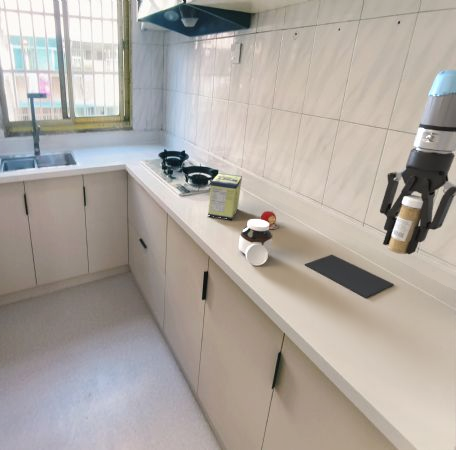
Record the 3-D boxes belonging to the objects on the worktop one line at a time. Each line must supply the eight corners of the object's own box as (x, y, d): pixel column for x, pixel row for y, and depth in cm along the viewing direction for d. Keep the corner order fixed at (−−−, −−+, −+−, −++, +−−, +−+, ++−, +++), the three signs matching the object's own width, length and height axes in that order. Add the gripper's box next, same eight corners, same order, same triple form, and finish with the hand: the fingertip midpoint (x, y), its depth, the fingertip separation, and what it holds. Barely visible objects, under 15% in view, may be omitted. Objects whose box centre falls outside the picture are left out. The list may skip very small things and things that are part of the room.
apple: (280, 226, 137) (283, 211, 134) (272, 231, 131) (275, 216, 128) (262, 220, 141) (264, 205, 139) (253, 225, 136) (255, 210, 133)
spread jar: (257, 247, 119) (262, 216, 114) (280, 262, 109) (287, 229, 105) (229, 253, 114) (233, 221, 109) (251, 269, 105) (257, 235, 100)
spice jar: (413, 254, 79) (434, 200, 74) (395, 254, 79) (414, 200, 73) (399, 245, 83) (418, 193, 78) (381, 245, 83) (399, 193, 78)
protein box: (237, 209, 153) (242, 175, 147) (232, 221, 140) (236, 185, 133) (215, 205, 156) (218, 172, 150) (207, 216, 143) (210, 181, 137)
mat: (393, 285, 99) (394, 283, 99) (366, 298, 92) (366, 297, 92) (331, 255, 115) (332, 254, 115) (304, 265, 108) (304, 263, 108)
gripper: (380, 144, 76) (353, 237, 86) (478, 160, 63) (433, 268, 72) (397, 141, 80) (370, 231, 89) (493, 156, 66) (448, 260, 76)
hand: (398, 247), depth 81 cm, fingers closed on spice jar, 4 cm apart
